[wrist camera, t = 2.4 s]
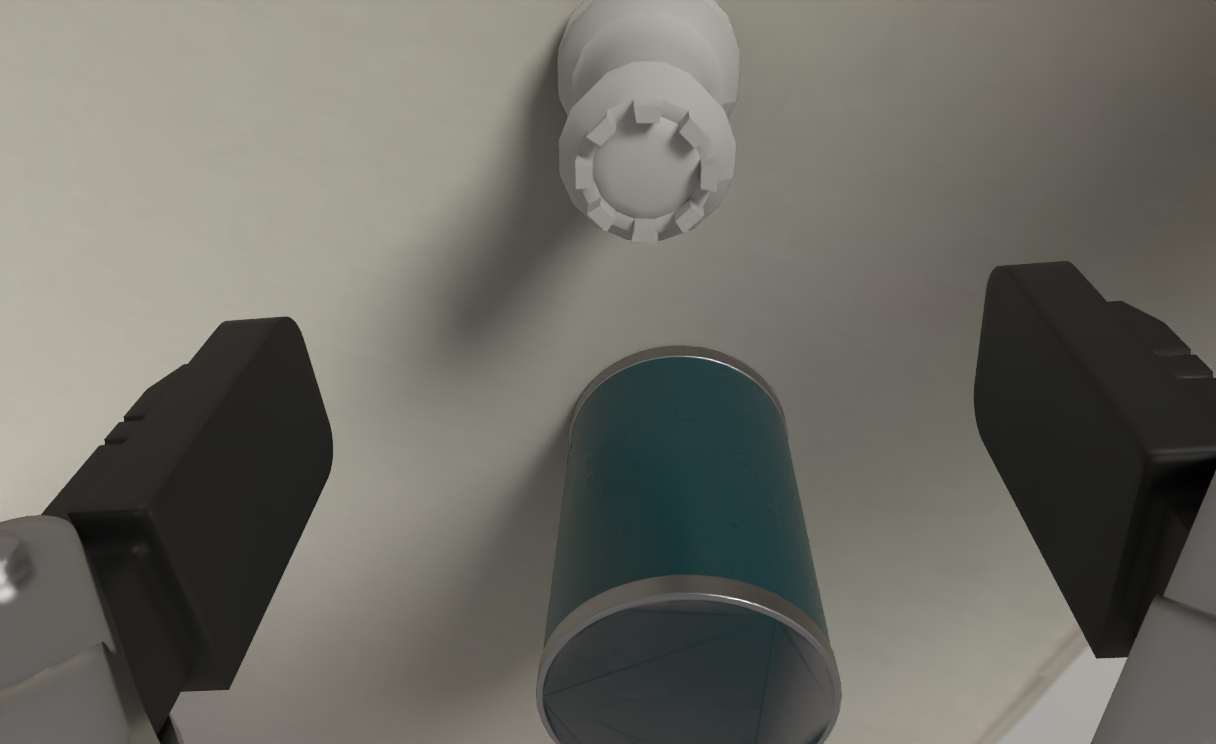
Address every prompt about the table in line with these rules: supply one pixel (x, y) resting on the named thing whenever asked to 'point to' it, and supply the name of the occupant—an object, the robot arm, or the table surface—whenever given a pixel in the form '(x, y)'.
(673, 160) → the rook chess piece
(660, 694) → the tin can
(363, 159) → the table surface
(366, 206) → the table surface
